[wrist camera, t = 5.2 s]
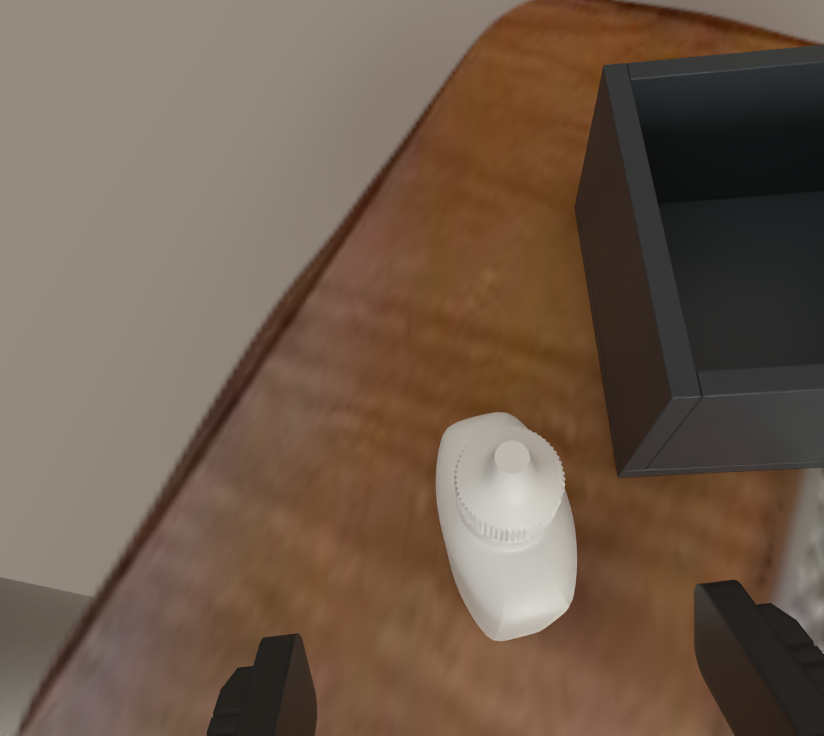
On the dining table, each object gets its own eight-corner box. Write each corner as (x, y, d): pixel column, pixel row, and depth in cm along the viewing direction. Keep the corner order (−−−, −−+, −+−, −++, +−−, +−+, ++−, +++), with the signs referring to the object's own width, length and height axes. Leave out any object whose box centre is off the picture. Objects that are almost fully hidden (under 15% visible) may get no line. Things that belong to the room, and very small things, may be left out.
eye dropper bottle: (571, 497, 25) (644, 357, 14) (542, 656, 23) (599, 634, 12) (457, 469, 26) (442, 315, 15) (418, 619, 23) (367, 567, 13)
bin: (617, 477, 25) (672, 398, 18) (574, 207, 30) (603, 64, 23) (973, 460, 24) (1177, 369, 17) (864, 184, 29) (985, 29, 22)
